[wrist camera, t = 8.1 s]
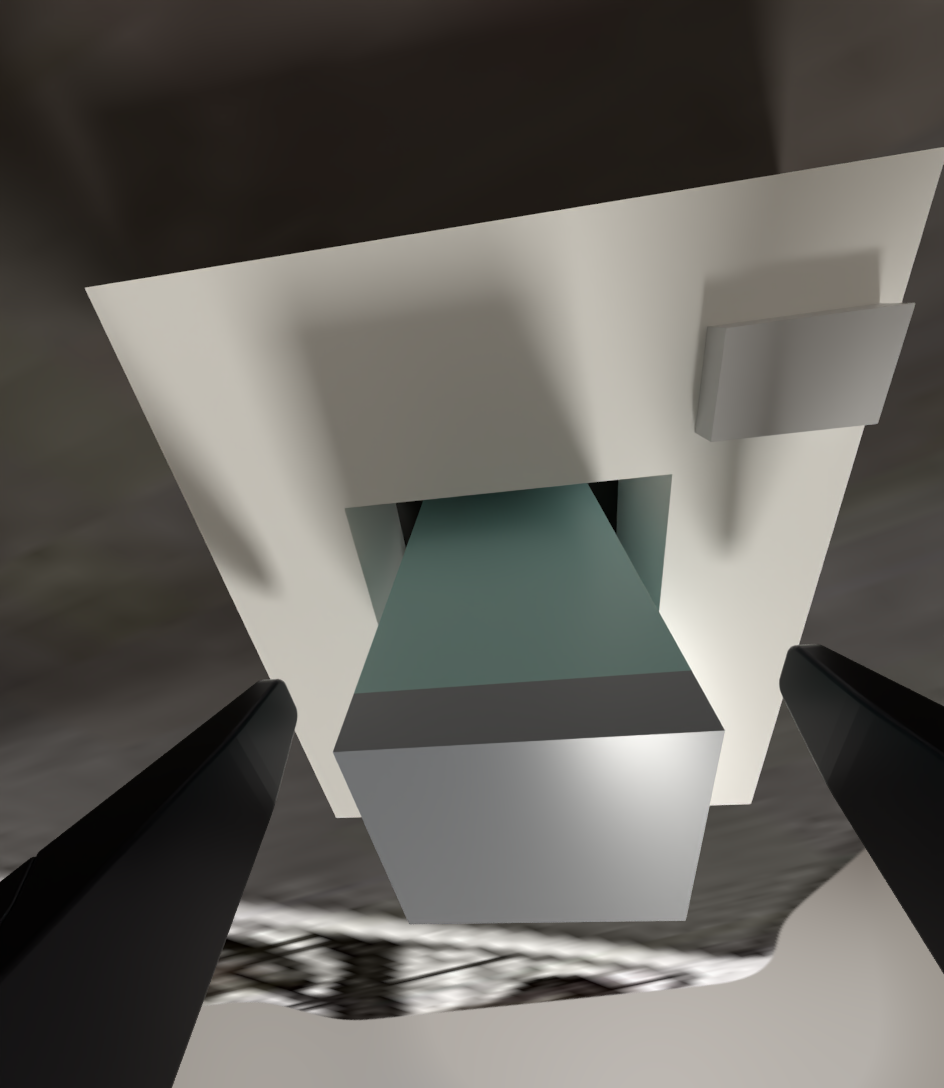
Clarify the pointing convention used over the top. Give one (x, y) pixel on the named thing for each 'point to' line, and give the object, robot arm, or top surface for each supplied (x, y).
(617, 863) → the plug
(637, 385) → the socket plate
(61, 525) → the top surface
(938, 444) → the top surface
